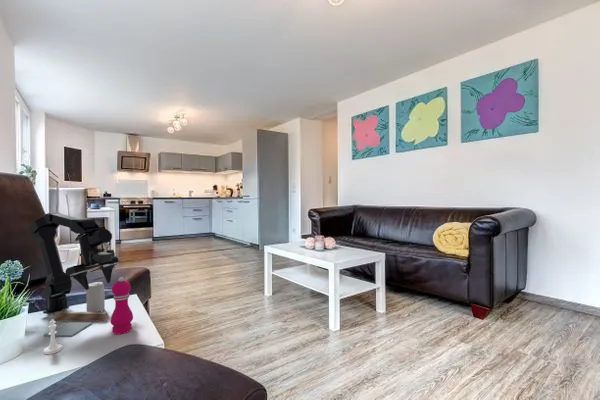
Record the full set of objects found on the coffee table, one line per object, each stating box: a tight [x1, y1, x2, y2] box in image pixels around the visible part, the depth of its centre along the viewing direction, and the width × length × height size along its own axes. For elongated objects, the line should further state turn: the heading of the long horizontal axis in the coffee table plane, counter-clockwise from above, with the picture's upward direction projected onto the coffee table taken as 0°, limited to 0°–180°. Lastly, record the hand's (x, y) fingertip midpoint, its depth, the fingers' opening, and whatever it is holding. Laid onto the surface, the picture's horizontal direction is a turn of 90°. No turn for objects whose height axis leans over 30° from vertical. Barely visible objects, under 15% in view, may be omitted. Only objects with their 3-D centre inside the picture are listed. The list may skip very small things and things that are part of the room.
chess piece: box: [42, 318, 64, 355], centre depth 98 cm, size 5×5×10 cm
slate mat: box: [43, 321, 93, 338], centre depth 112 cm, size 10×10×1 cm
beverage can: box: [85, 281, 106, 312], centre depth 129 cm, size 6×6×12 cm
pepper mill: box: [110, 276, 134, 335], centre depth 111 cm, size 7×7×20 cm
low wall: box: [54, 311, 108, 322], centre depth 120 cm, size 20×2×3 cm, turn 89°
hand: (98, 286), depth 122 cm, fingers open, 9 cm apart
